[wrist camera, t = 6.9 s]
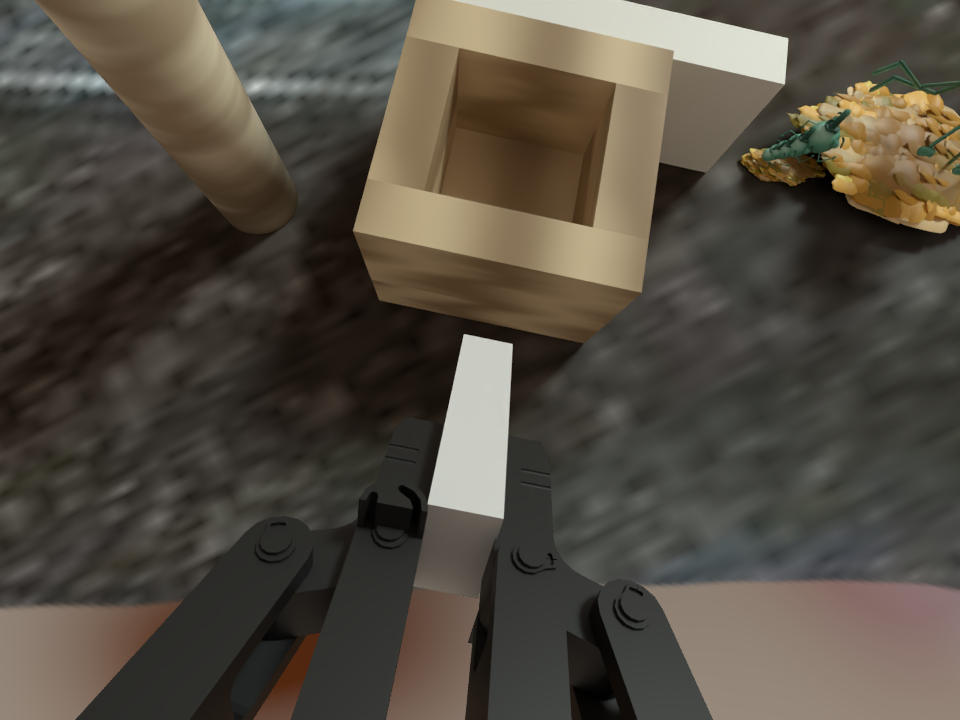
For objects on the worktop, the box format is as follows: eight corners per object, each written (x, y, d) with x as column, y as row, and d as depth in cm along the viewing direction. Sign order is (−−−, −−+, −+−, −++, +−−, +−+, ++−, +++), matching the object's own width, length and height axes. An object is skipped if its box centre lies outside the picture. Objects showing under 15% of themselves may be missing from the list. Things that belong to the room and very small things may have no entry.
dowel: (211, 225, 27) (-28, -23, 13) (233, 159, 28) (31, -140, 14) (286, 241, 27) (127, 11, 13) (306, 174, 28) (175, -106, 14)
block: (379, 300, 27) (352, 230, 19) (424, 120, 29) (417, -8, 21) (584, 343, 27) (641, 292, 19) (612, 161, 29) (673, 50, 22)
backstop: (435, 112, 29) (433, 4, 22) (444, 76, 30) (445, -41, 23) (706, 172, 30) (784, 84, 23) (710, 135, 30) (788, 38, 23)
